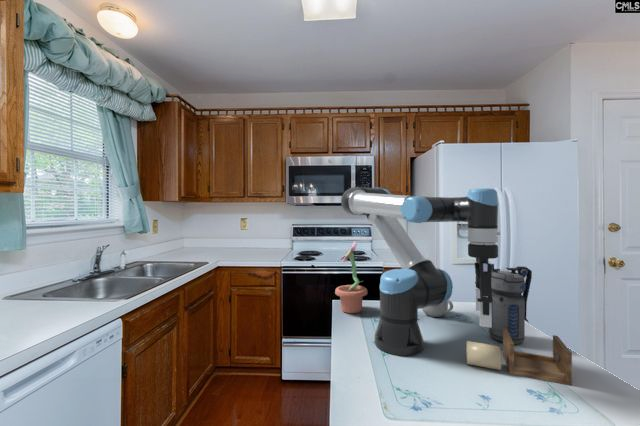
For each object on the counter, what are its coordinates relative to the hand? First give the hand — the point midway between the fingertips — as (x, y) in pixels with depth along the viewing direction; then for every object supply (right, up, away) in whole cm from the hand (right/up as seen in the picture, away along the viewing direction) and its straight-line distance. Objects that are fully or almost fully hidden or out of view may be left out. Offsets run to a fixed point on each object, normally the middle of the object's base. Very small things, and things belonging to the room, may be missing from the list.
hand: (483, 318), depth 84 cm
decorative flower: (-33, -12, +44) cm, 56 cm away
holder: (+12, -12, -4) cm, 18 cm away
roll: (-1, -10, -2) cm, 10 cm away
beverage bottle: (+17, -13, +15) cm, 26 cm away
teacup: (+1, -12, +37) cm, 39 cm away
